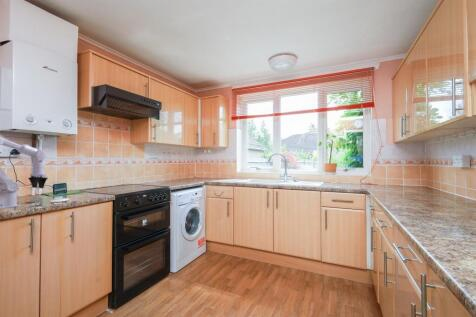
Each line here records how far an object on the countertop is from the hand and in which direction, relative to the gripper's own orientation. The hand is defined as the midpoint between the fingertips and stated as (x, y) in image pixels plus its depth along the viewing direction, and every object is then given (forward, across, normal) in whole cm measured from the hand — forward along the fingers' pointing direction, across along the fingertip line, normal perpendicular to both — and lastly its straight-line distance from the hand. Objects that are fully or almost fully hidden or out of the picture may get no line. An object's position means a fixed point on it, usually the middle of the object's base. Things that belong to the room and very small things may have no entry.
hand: (37, 187), depth 149 cm
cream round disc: (+9, -9, -6) cm, 15 cm away
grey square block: (+9, +1, 0) cm, 9 cm away
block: (+10, -15, +4) cm, 18 cm away
